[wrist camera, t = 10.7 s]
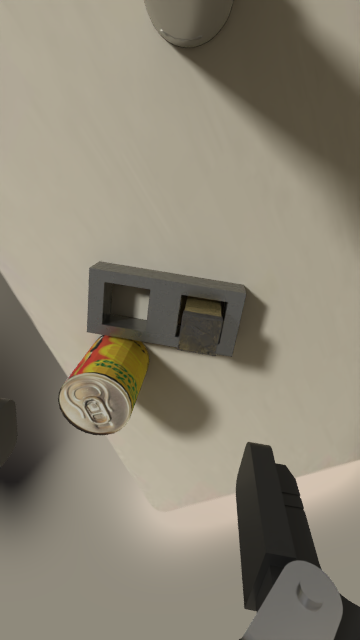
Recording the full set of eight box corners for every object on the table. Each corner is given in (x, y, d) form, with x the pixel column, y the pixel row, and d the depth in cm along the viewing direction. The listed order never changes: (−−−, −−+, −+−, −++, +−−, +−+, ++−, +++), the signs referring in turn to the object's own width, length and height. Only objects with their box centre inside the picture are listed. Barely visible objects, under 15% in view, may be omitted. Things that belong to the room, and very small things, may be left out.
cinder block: (99, 261, 45) (89, 267, 42) (243, 284, 45) (246, 293, 41) (96, 321, 49) (86, 332, 45) (230, 343, 48) (231, 356, 45)
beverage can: (132, 322, 48) (108, 362, 37) (159, 372, 51) (144, 423, 40) (81, 343, 51) (44, 387, 39) (109, 390, 53) (82, 443, 42)
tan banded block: (188, 291, 46) (182, 313, 38) (220, 296, 46) (222, 320, 37) (183, 321, 48) (177, 349, 39) (214, 326, 48) (215, 356, 39)
